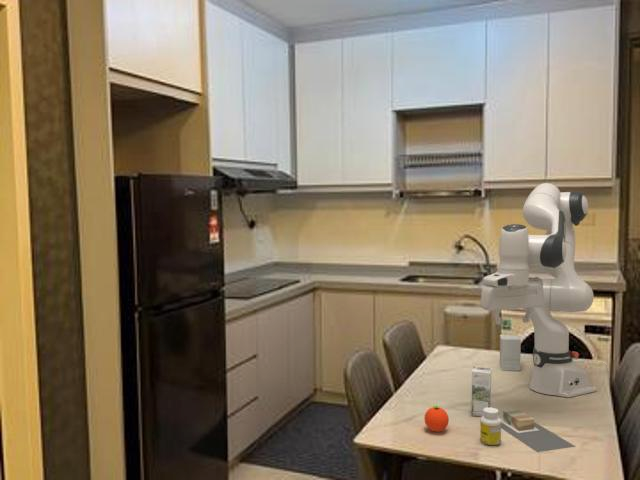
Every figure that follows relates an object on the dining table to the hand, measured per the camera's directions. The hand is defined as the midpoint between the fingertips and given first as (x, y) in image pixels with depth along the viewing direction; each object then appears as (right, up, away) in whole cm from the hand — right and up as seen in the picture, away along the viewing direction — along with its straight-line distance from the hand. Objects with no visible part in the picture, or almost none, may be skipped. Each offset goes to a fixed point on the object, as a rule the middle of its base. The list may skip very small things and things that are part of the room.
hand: (512, 323), depth 175 cm
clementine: (-25, -30, -8) cm, 40 cm away
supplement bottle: (-12, -31, -18) cm, 38 cm away
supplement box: (+16, -26, +52) cm, 60 cm away
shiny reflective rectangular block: (-1, -29, -6) cm, 30 cm away
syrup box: (-9, -29, +4) cm, 31 cm away
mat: (+1, -30, -12) cm, 32 cm away
